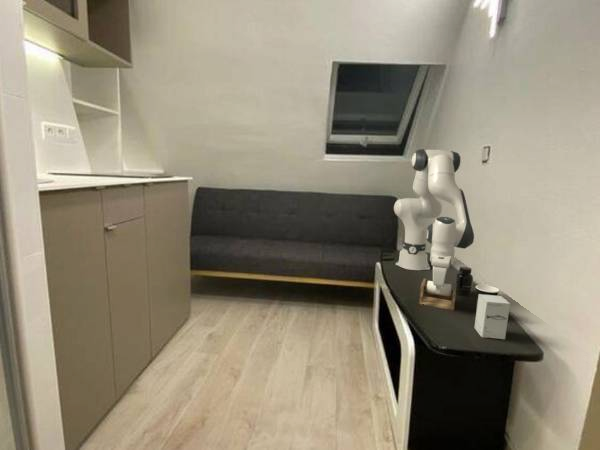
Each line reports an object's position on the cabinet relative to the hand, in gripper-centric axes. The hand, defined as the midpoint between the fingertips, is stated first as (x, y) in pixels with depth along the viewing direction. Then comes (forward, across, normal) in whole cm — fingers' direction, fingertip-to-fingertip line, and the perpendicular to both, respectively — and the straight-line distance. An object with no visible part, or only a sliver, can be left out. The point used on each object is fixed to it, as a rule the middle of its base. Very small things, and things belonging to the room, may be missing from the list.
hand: (438, 290), depth 141 cm
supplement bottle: (+6, -18, +9) cm, 21 cm away
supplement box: (+6, +21, +18) cm, 28 cm away
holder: (+5, 0, 0) cm, 5 cm away
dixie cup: (+6, +5, +17) cm, 18 cm away
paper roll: (-1, 0, 0) cm, 1 cm away
